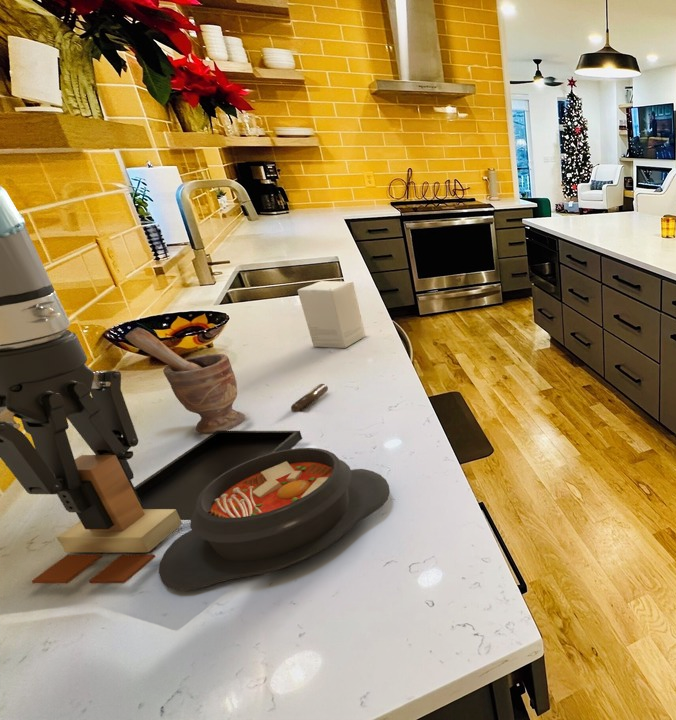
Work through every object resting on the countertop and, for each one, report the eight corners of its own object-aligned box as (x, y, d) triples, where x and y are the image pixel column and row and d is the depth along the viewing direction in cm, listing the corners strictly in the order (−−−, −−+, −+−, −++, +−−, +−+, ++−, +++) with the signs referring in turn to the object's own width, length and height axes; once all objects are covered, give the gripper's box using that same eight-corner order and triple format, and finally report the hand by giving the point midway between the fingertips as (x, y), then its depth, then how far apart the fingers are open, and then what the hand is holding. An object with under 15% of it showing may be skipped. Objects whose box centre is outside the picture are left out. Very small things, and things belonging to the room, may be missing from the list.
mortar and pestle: (166, 454, 82) (116, 341, 74) (169, 432, 89) (123, 326, 81) (252, 430, 89) (214, 325, 81) (249, 412, 95) (213, 312, 87)
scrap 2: (94, 590, 57) (88, 580, 57) (126, 563, 61) (121, 554, 60) (129, 590, 57) (123, 580, 57) (159, 563, 61) (154, 554, 60)
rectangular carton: (367, 336, 133) (354, 281, 127) (345, 348, 125) (331, 290, 119) (335, 334, 134) (321, 280, 128) (312, 347, 126) (295, 289, 120)
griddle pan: (108, 526, 67) (99, 510, 66) (292, 393, 103) (289, 381, 102) (212, 526, 67) (205, 510, 66) (360, 393, 103) (357, 381, 102)
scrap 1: (37, 590, 57) (30, 580, 57) (73, 563, 61) (67, 554, 60) (72, 590, 57) (66, 580, 57) (105, 563, 61) (100, 554, 60)
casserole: (170, 637, 52) (138, 577, 49) (160, 542, 64) (134, 489, 61) (412, 521, 68) (401, 470, 64) (367, 463, 80) (356, 418, 77)
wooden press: (65, 552, 60) (18, 475, 56) (105, 523, 65) (65, 449, 60) (148, 552, 60) (108, 475, 56) (182, 523, 65) (148, 450, 60)
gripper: (-39, 371, 44) (78, 567, 54) (130, 314, 59) (198, 476, 69) (-123, 370, 44) (8, 567, 54) (66, 313, 59) (143, 476, 69)
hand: (114, 516), depth 61 cm, fingers closed on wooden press, 3 cm apart
